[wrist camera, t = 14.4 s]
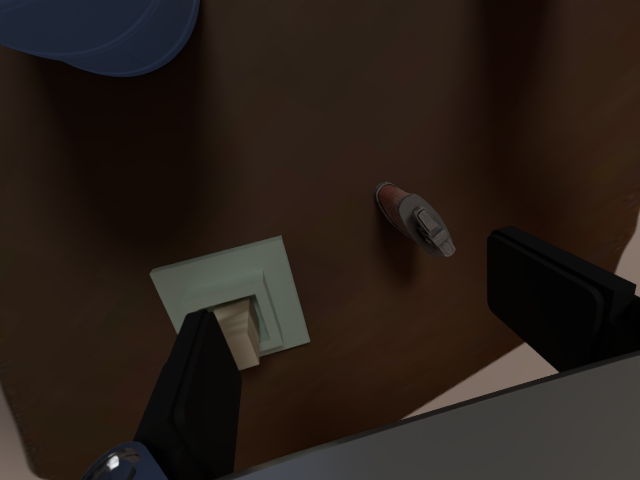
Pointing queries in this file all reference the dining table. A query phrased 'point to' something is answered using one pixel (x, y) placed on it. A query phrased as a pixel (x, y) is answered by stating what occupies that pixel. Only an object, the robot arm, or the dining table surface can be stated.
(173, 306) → the slot holder
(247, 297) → the birch peg
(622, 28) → the dining table surface
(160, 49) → the water jug
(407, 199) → the lighter
